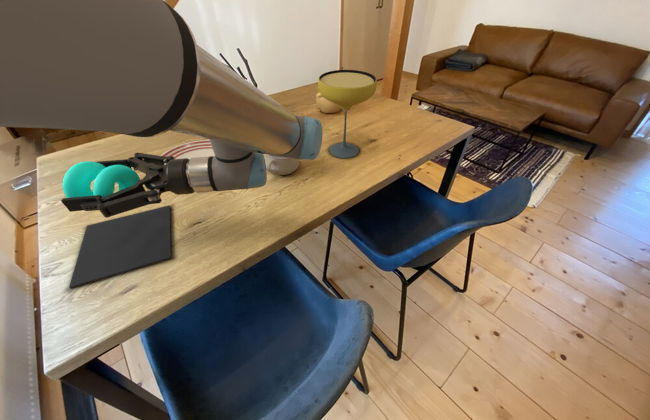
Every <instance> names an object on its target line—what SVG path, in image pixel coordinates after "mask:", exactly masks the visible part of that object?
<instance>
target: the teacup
mask: <svg viewBox="0 0 650 420" xmlns="http://www.w3.org/2000/svg"><path fill="white" fill-rule="evenodd" d="M265 163H266V171H267V173H268V172H269V173H271V174H275V175H276V174H277V175H281V176H286V175H290V174H292V173H294V172H295V171H296V170H297V169H298V167H299V164H300V160H299V159H294V158H288V157H282V156H275V155H269V154H265Z"/></svg>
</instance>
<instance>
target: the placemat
mask: <svg viewBox="0 0 650 420" xmlns="http://www.w3.org/2000/svg"><path fill="white" fill-rule="evenodd" d="M171 221H172V220H171V205H165V206H161V207H158V208H154V209H149V210H145V211H141V212H137V213H133V214H129V215H125V216H120V217H117V218H112V219H109V220H105V221H101V222H96V223H92V224H89V225H86V227H85V228H86V229H85V232H84V235H83V238H82V242H81V246H80V249H79V252H78V255H77V258H76V262H75V265H74V269H73V272H72V275H71V279H70V283H69V286H68V287H69V289H75V288H78V287H81V286H84V285H87V284H92V283H94V282H98V281H101V280H105V279H108V278H112V277H114V276H118V275H121V274H124V273H127V272H132V271H135V270H138V269H141V268H145V267H148V266H151V265H155V264H159V263H161V262H165V261H168V260H172V222H171Z"/></svg>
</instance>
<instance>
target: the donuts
mask: <svg viewBox="0 0 650 420" xmlns="http://www.w3.org/2000/svg"><path fill="white" fill-rule="evenodd" d="M97 162H98V161H91V160H85V161H81V162H77V163H75V164H74V165H72V166H71V167H70V168H69V169H67V171H66V172H65V173H64V176H63V179H62V191H63V194H64V196H65V198H72V197H84V196H95V195H101V197H102V198H103V197H105V196H108V195H110V194H113V193H115V190H116V183H117V186H118V190H117V192H118V191H120V190H122V189H125V188H127V187H130V186H132V185H135V184H136V182H137V181H139V180H141V178H140V176H139V174H138V173H137V172H136V170H135V171H134V169H133V168H132V167H131V168H132V169H131V168H129V167H127V166H124V165H112V166H109V167H107V168H106V167H105V166H104V165H102V164H100V163H97ZM92 183H93V185H92V189H91V184H92ZM108 202H109V201H108Z"/></svg>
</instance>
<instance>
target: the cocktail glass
mask: <svg viewBox="0 0 650 420" xmlns="http://www.w3.org/2000/svg"><path fill="white" fill-rule="evenodd" d="M377 86H378V81H377V76H375V75H374V74H372V73H370V72H367V71H363V70H356V69H336V70H331V71H330V70H329V71H327V72H324V73H322V74H320V75H319V77H318V80H317V88H318V92H320V94H321V95H322V96H323V97H324V98H325V99H327V100H329V101H331V102H333V103H335V104H338V105H339V106H340V107H341V110H342V111H343V112H344V120H343V121H344V125H343V139H342V142H337V143H334V144H332V145H331V146H330V147H329V151H328V152H329V153H330V155H332V157H333V156H334V157H335V158H338V159H350V158H351V159H352V158H354V157H356V156H357V155H358V154H359V153H360V150H359V147H358V146H357V145H355V144H353V143H350V142H347V140H346V139H347V118H348V117H347V115H348V111H350V110H351V108H352V107H354V106H355V105H358V104H361V103H364V102H366V101H368V100H369V99H371V98H372V97H373V96H374V95H375V94H376V90H377Z"/></svg>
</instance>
